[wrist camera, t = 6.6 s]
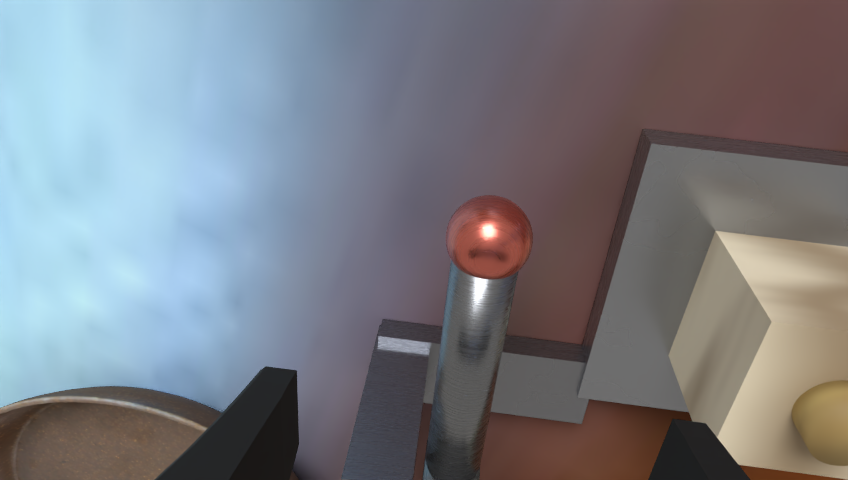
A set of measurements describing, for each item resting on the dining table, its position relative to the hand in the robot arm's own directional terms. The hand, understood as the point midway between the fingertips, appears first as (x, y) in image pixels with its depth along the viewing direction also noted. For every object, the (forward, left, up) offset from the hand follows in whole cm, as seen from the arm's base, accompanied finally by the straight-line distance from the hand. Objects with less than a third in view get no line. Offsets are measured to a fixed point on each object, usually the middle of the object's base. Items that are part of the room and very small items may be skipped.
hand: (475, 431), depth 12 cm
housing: (-10, +2, -9) cm, 13 cm away
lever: (0, +3, -5) cm, 6 cm away
